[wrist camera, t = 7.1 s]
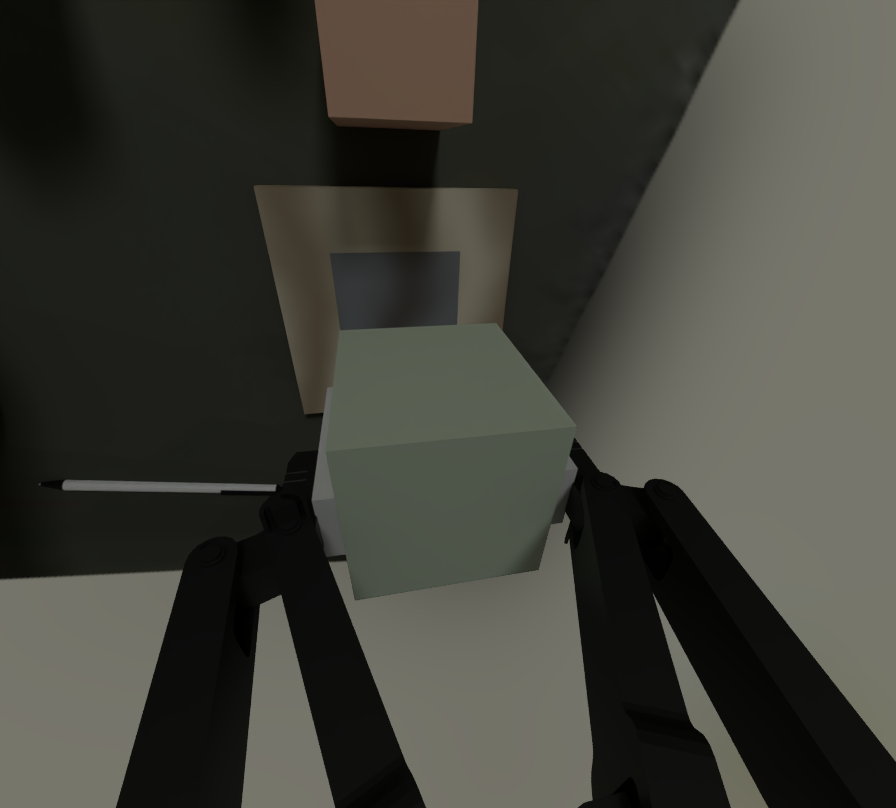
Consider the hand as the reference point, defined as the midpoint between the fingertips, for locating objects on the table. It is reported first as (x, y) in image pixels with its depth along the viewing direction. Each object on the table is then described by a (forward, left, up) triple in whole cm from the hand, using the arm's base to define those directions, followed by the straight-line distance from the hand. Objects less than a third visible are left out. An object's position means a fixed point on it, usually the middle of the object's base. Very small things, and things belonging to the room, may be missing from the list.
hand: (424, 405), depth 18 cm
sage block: (0, 0, -1) cm, 1 cm away
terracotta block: (0, +14, -13) cm, 19 cm away
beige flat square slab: (0, 0, -13) cm, 13 cm away
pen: (-20, -15, -14) cm, 29 cm away
